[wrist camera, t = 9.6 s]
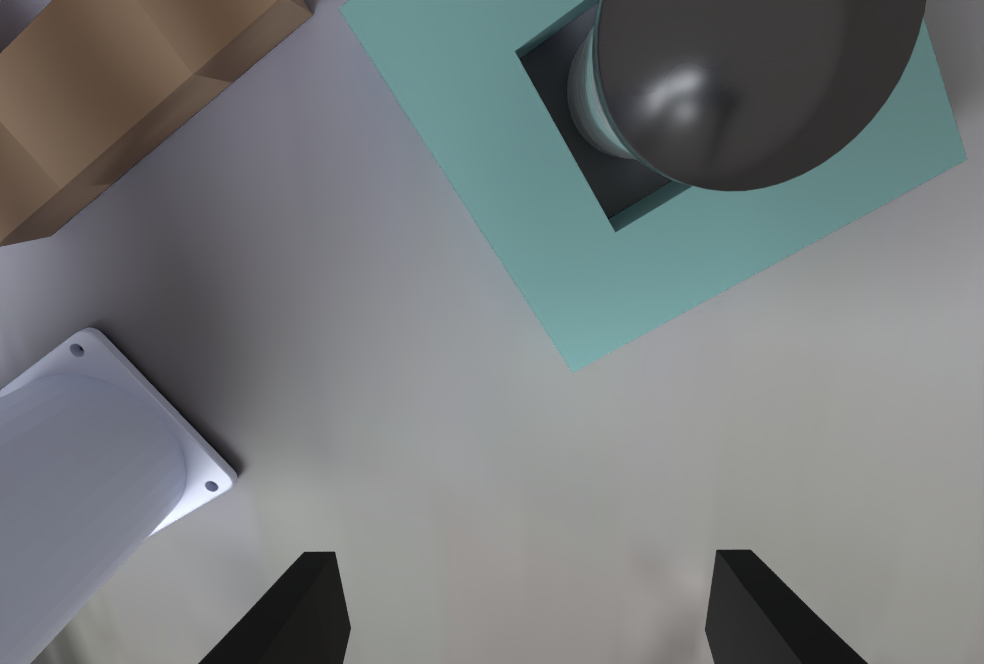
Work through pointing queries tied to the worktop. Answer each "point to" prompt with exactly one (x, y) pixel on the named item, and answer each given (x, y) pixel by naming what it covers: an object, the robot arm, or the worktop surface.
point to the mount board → (114, 92)
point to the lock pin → (737, 83)
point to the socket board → (572, 204)
